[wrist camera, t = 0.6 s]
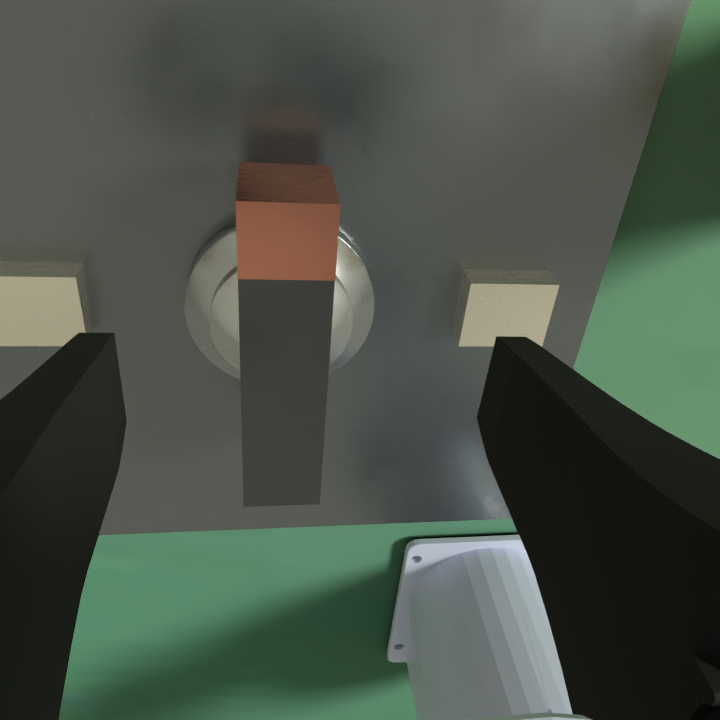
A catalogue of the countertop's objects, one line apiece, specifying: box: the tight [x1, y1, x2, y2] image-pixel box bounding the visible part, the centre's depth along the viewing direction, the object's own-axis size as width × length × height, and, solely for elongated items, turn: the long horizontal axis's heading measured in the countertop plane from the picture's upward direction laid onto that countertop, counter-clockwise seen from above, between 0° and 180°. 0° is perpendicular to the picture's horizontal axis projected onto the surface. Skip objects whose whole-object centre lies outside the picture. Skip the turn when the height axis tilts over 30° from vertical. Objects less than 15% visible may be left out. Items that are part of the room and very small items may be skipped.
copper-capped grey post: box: [209, 162, 353, 507], centre depth 19 cm, size 10×4×3 cm, turn 175°
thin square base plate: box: [0, 0, 691, 535], centre depth 22 cm, size 22×22×2 cm
